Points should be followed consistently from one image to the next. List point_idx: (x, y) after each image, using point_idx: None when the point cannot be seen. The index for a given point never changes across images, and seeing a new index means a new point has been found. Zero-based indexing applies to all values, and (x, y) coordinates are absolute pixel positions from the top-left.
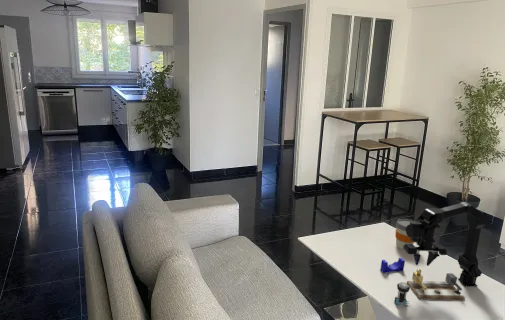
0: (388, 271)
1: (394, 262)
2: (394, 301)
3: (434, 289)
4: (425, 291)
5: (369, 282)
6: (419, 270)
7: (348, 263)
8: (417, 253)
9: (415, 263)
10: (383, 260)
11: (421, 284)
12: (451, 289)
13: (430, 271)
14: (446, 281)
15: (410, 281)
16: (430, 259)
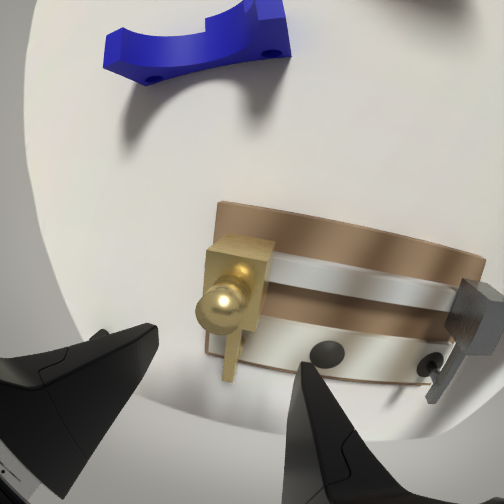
0: (172, 75)
1: (241, 4)
2: (100, 330)
3: (332, 332)
4: (259, 338)
5: (57, 183)
6: (214, 326)
7: (58, 44)
8: (19, 474)
9: (137, 327)
10: (110, 40)
11: (227, 341)
12: (435, 329)
13: (465, 111)
14: (458, 291)
15: (238, 211)
16: (285, 488)
